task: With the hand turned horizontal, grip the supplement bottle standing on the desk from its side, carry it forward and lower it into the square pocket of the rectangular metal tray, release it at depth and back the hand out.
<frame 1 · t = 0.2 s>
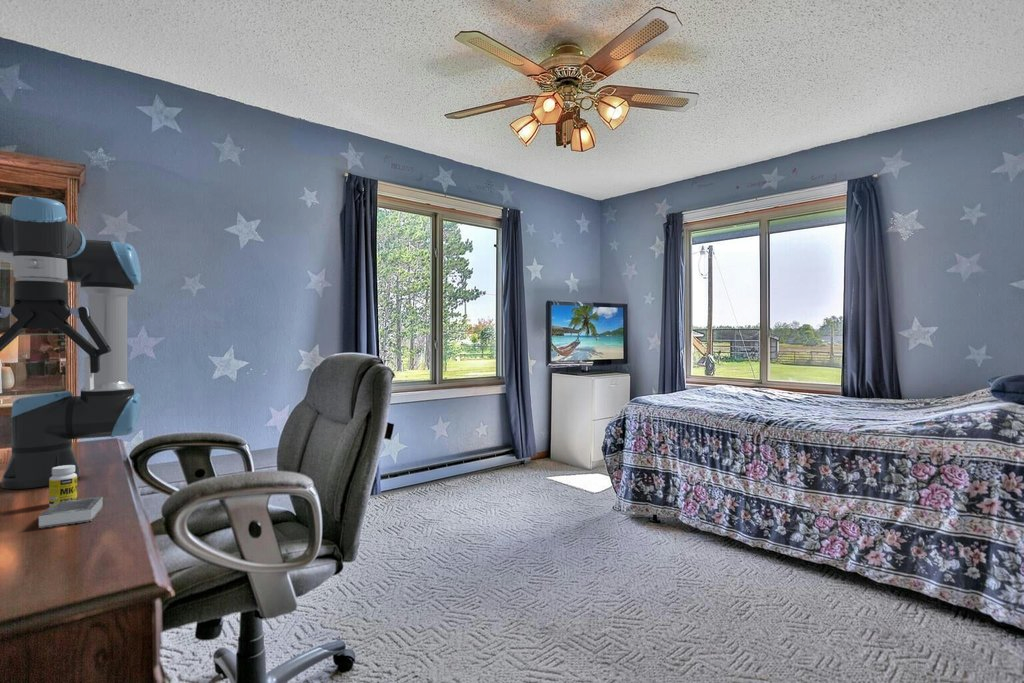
hand: (44, 392, 96), 27 cm above the table, tool pointing down, fingers open, 13 cm apart
supplement bottle: (63, 504, 114), on the table
rectangular metal tray: (72, 517, 105), on the table
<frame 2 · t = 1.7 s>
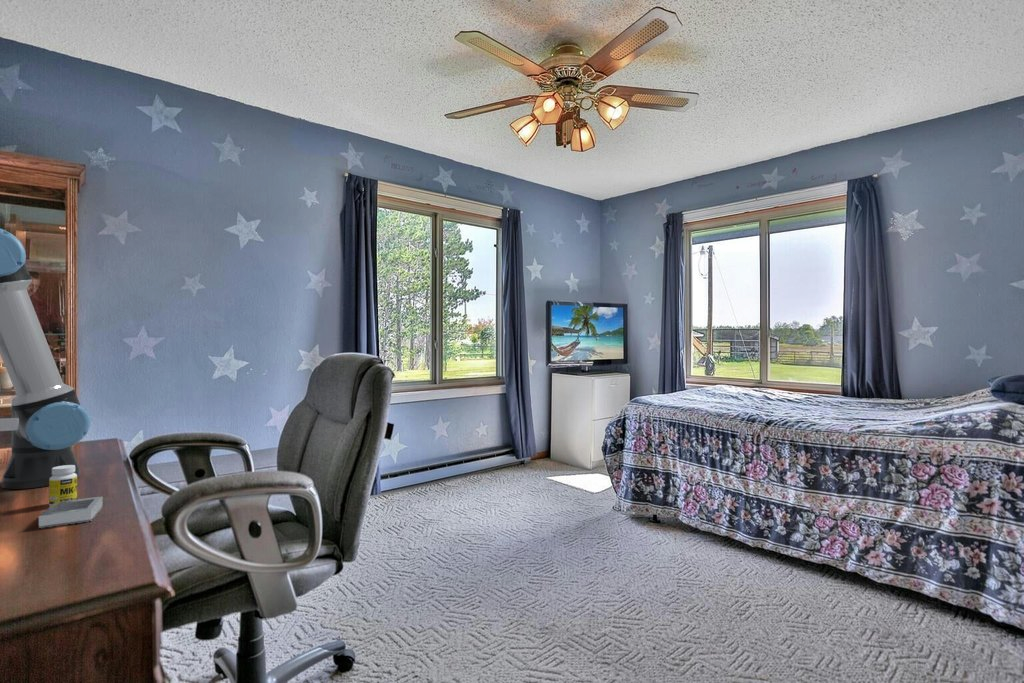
hand: (7, 428, 109), 18 cm above the table, tool horizontal, fingers open, 13 cm apart
nothing on the table moved.
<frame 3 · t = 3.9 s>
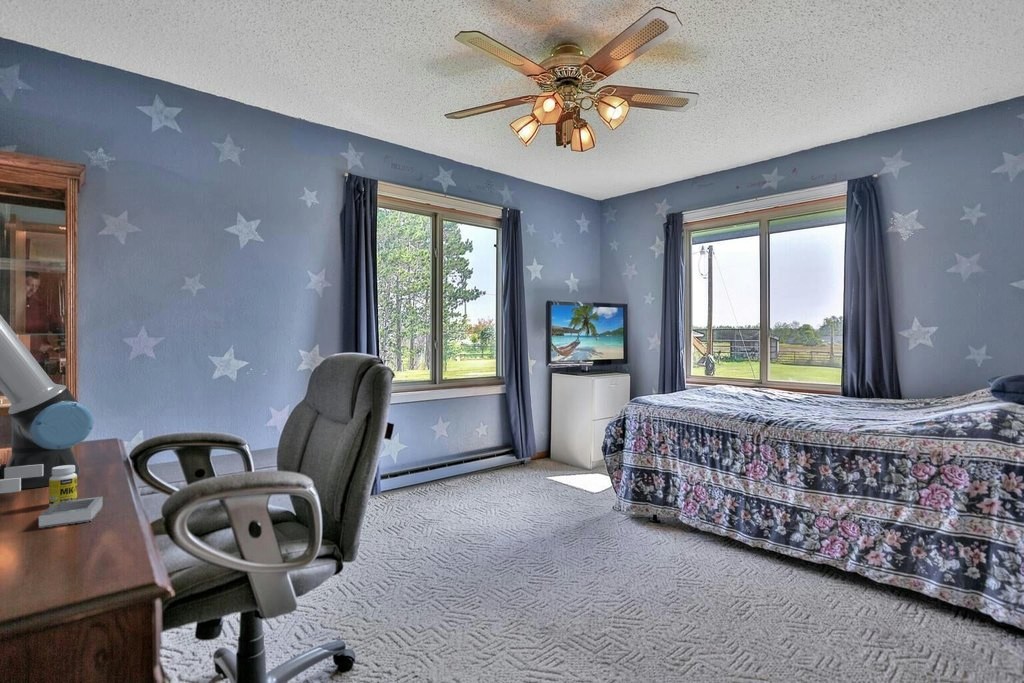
hand: (32, 476, 111), 7 cm above the table, tool horizontal, fingers open, 13 cm apart
nothing on the table moved.
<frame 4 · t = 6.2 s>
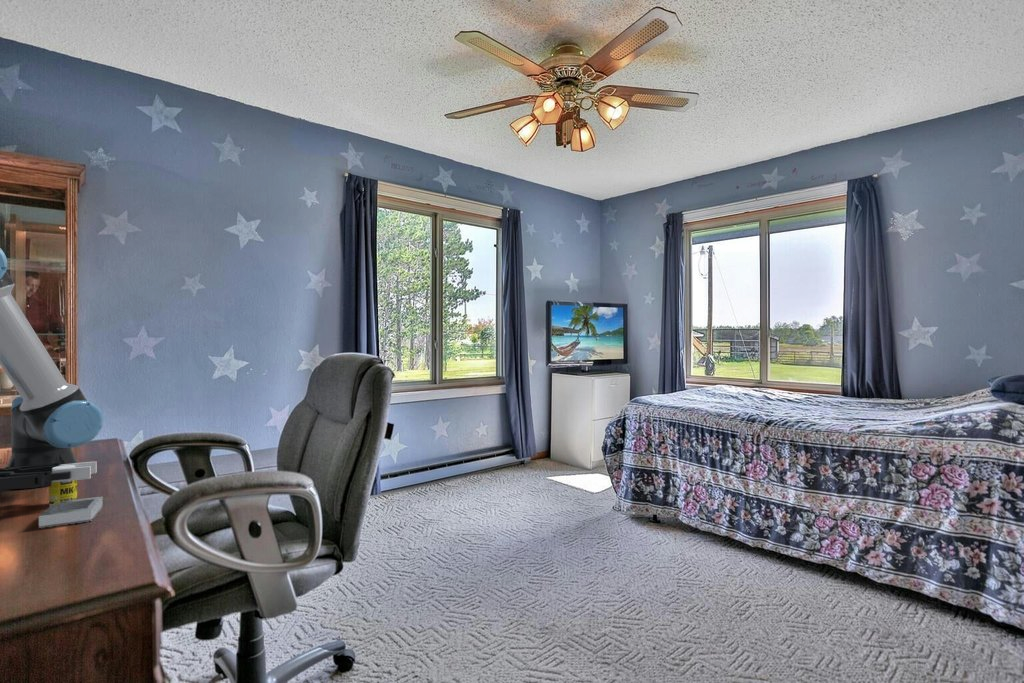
hand: (93, 469, 116), 7 cm above the table, tool horizontal, fingers closed on supplement bottle, 5 cm apart
supplement bottle: (63, 504, 114), on the table, touching gripper
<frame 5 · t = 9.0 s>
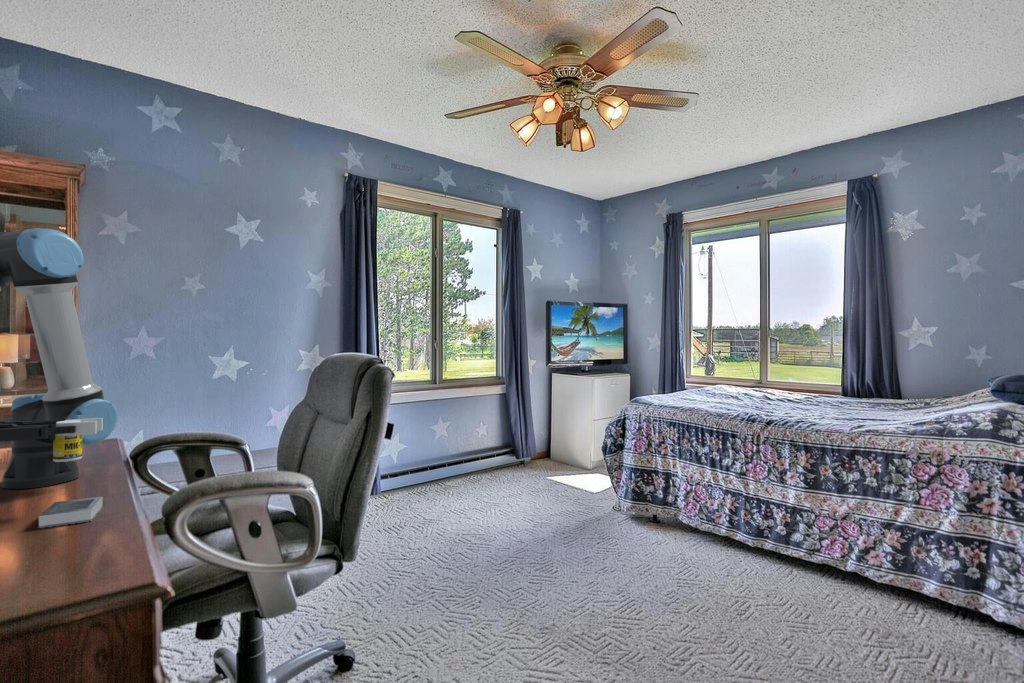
hand: (98, 425, 112), 18 cm above the table, tool horizontal, fingers closed on supplement bottle, 5 cm apart
supplement bottle: (67, 460, 109), point 11 cm above the table, touching gripper
when the fingers open (8 cm above the table, at t = 11.8 s): supplement bottle stays where it is, resting on rectangular metal tray.
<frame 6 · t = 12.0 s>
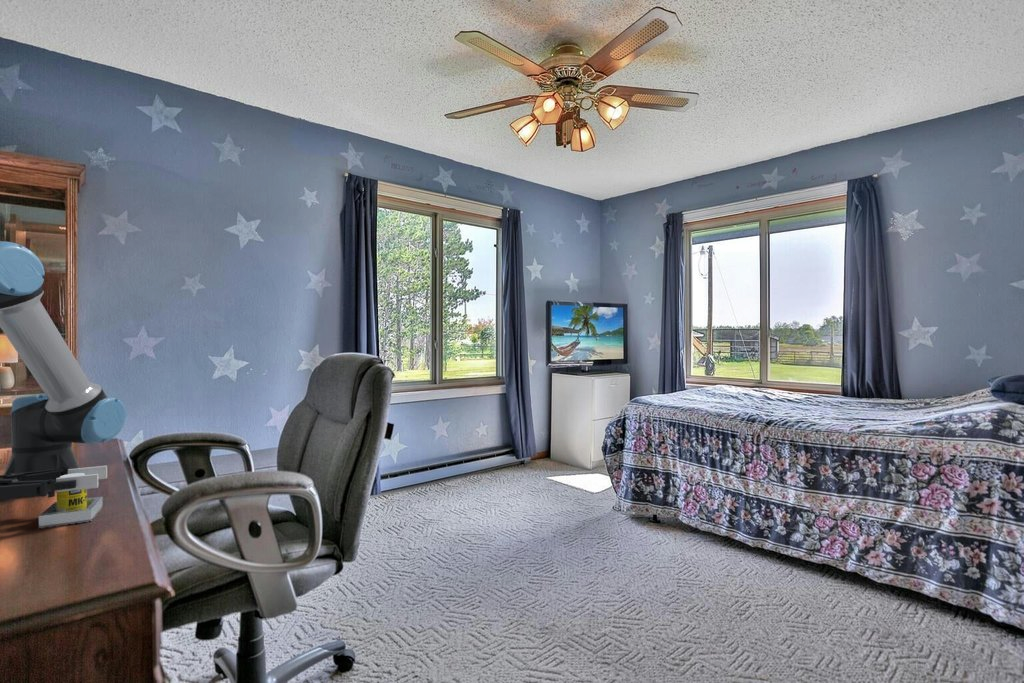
hand: (102, 476, 107), 8 cm above the table, tool horizontal, fingers open, 7 cm apart
supplement bottle: (71, 516, 104), resting on rectangular metal tray
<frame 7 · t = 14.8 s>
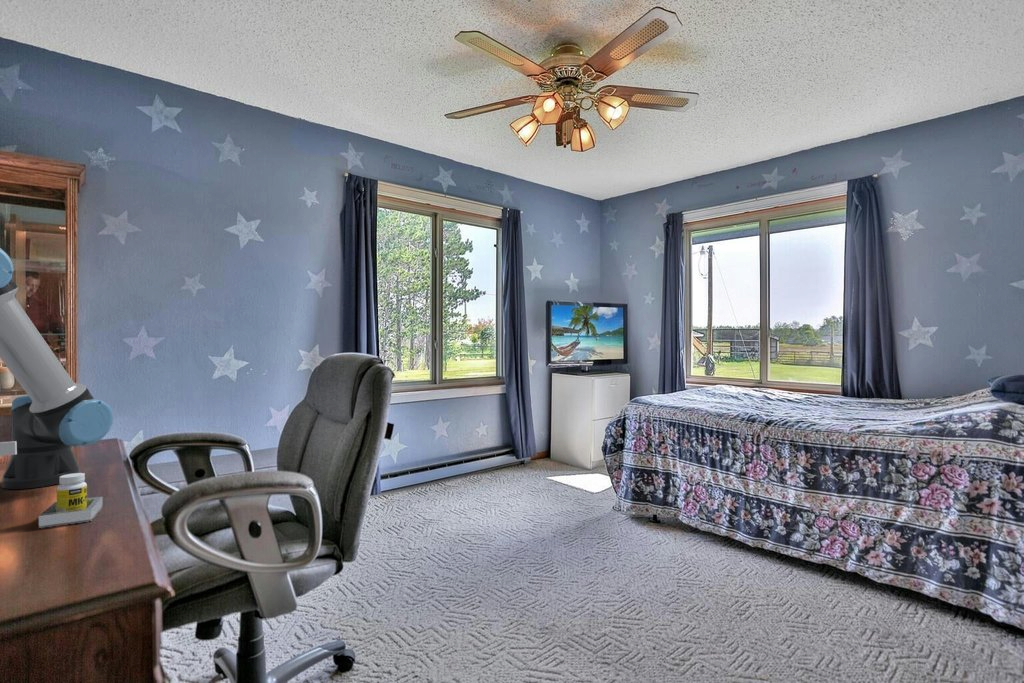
hand: (3, 454, 99), 14 cm above the table, tool horizontal, fingers open, 13 cm apart
nothing on the table moved.
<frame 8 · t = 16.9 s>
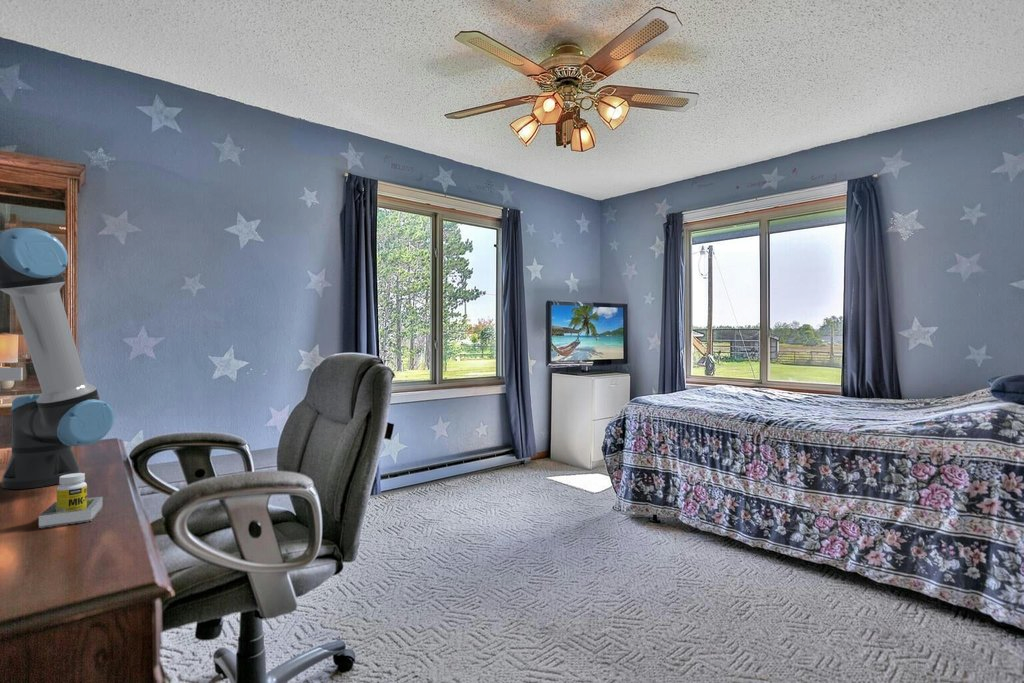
hand: (9, 375, 100), 30 cm above the table, tool horizontal, fingers open, 13 cm apart
nothing on the table moved.
at the end: supplement bottle 0.1 cm off-centre on the rectangular metal tray, point 0.3 cm above the rectangular metal tray's base; supplement bottle tilted 0°; the gripper is holding nothing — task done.
